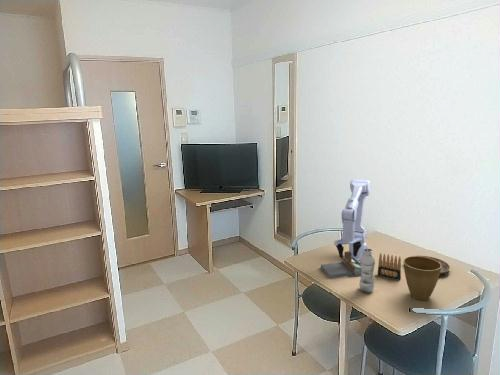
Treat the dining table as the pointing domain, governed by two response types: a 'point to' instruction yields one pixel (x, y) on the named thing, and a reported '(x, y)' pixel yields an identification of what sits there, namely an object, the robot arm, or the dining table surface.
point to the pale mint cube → (357, 266)
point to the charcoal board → (336, 270)
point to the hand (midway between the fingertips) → (347, 256)
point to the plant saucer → (444, 267)
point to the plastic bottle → (367, 271)
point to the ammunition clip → (389, 267)
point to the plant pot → (421, 276)
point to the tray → (357, 272)
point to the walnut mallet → (348, 260)
